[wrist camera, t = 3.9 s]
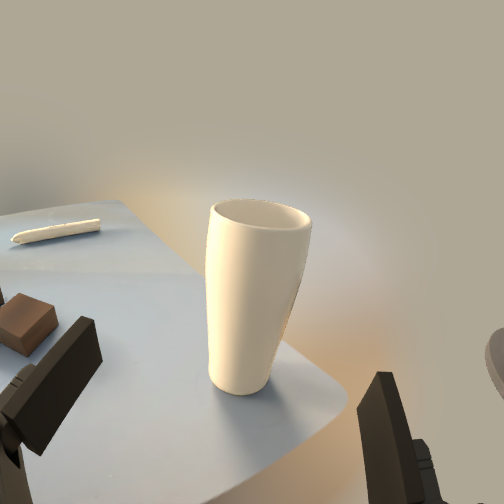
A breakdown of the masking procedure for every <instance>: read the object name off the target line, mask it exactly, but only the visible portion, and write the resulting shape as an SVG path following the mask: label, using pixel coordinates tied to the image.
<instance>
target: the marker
mask: <svg viewBox="0 0 504 504" xmlns="http://www.w3.org/2000/svg"><path fill="white" fill-rule="evenodd" d="M100 225H101V224H100V220H99V219H95V220H89V221H82V222H76V223H70V224H66V223H65V224H62V225H57V226H54V225H53V226H50V227H46V228H41V229H35V230H30V231H25V232H20V233H18V234H16V235H15V236H14V237H13V238H12V239H11V240H12V241H13V242H15V243H18V244H24V243H29V242H34V241H40V240H45V239H51V238H56V237H62V236H67V235H73V234H79V233H85V232H91V231H97V230H100V229H101V226H100Z"/></svg>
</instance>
